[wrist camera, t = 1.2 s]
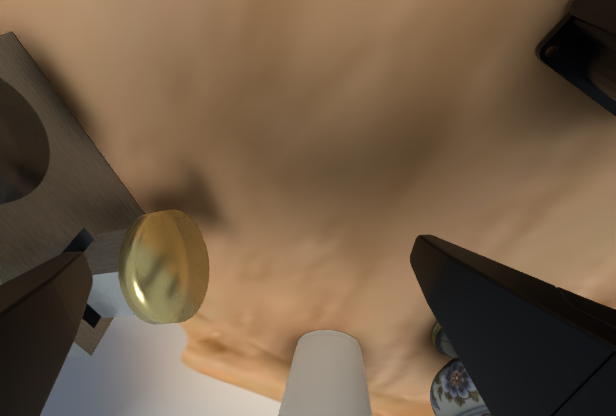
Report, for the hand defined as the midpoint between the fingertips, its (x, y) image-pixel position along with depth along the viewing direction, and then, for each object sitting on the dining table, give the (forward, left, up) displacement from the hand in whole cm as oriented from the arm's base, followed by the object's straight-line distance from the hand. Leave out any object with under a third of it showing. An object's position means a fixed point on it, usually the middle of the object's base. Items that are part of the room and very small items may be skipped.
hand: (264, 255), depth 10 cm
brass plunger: (+4, +11, -9) cm, 15 cm away
